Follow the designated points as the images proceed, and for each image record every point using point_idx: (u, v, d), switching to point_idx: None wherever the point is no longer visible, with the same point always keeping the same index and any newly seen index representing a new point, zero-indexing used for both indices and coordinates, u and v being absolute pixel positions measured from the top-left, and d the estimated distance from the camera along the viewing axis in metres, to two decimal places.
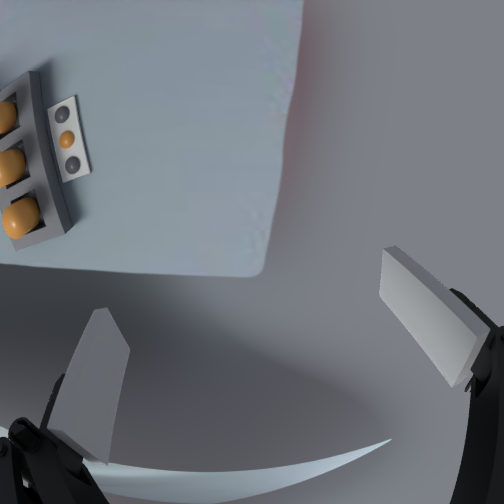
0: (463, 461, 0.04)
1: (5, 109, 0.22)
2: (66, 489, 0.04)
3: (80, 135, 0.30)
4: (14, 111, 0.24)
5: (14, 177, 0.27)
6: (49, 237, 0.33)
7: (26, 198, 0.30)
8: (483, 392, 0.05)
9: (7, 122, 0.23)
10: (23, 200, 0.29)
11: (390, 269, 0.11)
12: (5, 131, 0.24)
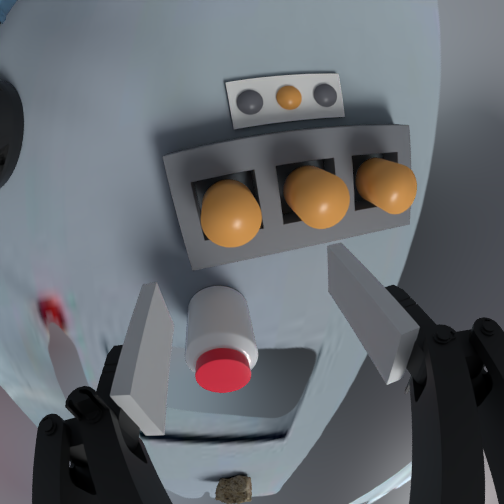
0: (413, 467, 0.05)
1: (222, 187, 0.23)
2: (124, 467, 0.05)
3: (287, 76, 0.24)
4: (225, 180, 0.25)
5: None
6: (409, 152, 0.26)
7: (361, 172, 0.26)
8: (422, 397, 0.06)
9: (244, 187, 0.24)
10: (365, 174, 0.25)
11: (333, 265, 0.13)
12: None
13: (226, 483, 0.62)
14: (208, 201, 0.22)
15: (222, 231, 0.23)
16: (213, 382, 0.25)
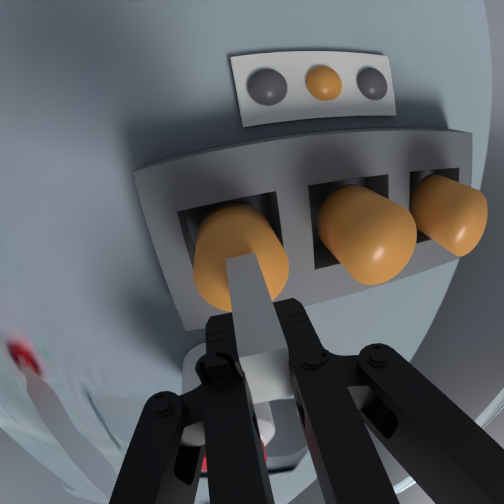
0: (323, 494, 0.05)
1: (226, 220, 0.15)
2: (250, 443, 0.05)
3: (321, 52, 0.15)
4: (231, 206, 0.17)
5: None
6: (470, 168, 0.17)
7: (420, 195, 0.17)
8: (306, 426, 0.07)
9: (260, 219, 0.16)
10: (427, 199, 0.17)
11: None
12: None
13: None
14: (204, 247, 0.13)
15: (228, 291, 0.15)
16: None
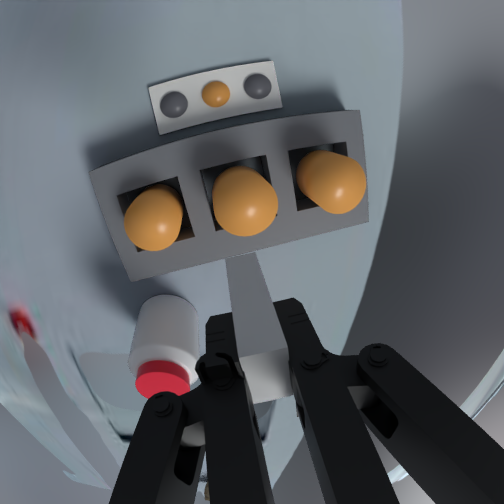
0: (323, 494, 0.05)
1: (143, 193, 0.23)
2: (250, 443, 0.05)
3: (213, 71, 0.22)
4: (152, 186, 0.25)
5: None
6: (361, 141, 0.24)
7: (300, 167, 0.24)
8: (306, 426, 0.07)
9: (166, 192, 0.24)
10: (303, 170, 0.23)
11: None
12: (180, 202, 0.25)
13: None
14: (128, 209, 0.21)
15: (145, 236, 0.23)
16: (154, 393, 0.24)
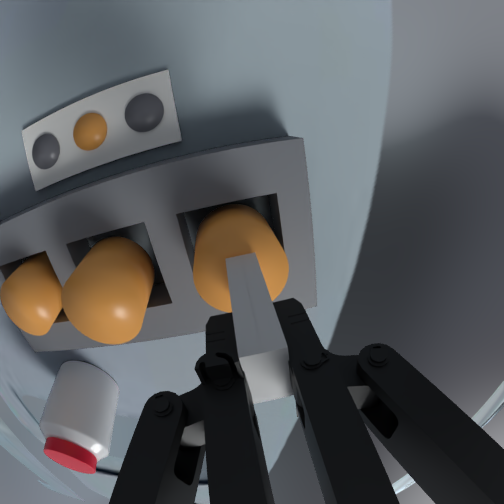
0: (323, 494, 0.05)
1: (16, 270, 0.15)
2: (250, 443, 0.05)
3: (87, 98, 0.14)
4: (33, 255, 0.17)
5: (130, 265, 0.14)
6: (305, 190, 0.16)
7: (197, 235, 0.17)
8: (306, 426, 0.07)
9: (40, 267, 0.16)
10: (196, 242, 0.16)
11: None
12: None
13: None
14: (1, 289, 0.13)
15: (22, 320, 0.15)
16: (64, 463, 0.15)
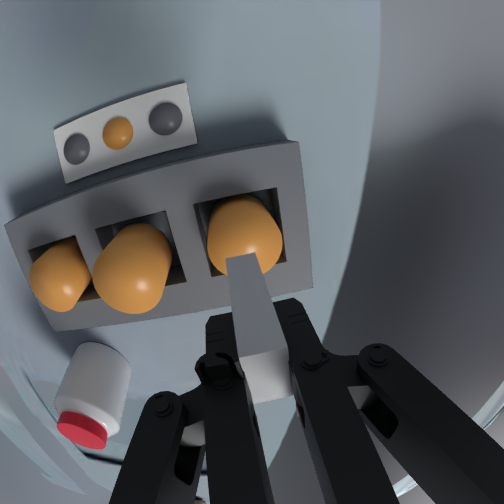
0: (323, 494, 0.05)
1: (46, 252, 0.18)
2: (250, 443, 0.05)
3: (115, 104, 0.17)
4: (61, 240, 0.20)
5: (153, 245, 0.18)
6: (300, 185, 0.19)
7: (209, 218, 0.21)
8: (306, 426, 0.07)
9: (68, 250, 0.19)
10: (209, 222, 0.20)
11: None
12: None
13: None
14: (31, 269, 0.17)
15: (49, 297, 0.18)
16: (75, 438, 0.19)
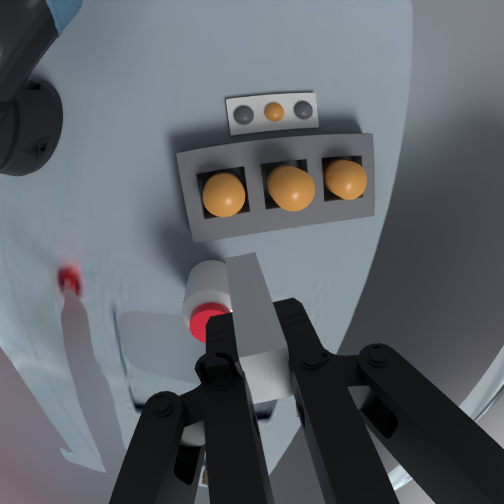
0: (323, 493, 0.05)
1: (218, 174, 0.33)
2: (250, 443, 0.05)
3: (273, 95, 0.32)
4: (222, 171, 0.35)
5: None
6: (372, 156, 0.34)
7: (324, 168, 0.36)
8: (306, 426, 0.07)
9: (234, 176, 0.34)
10: (326, 170, 0.35)
11: None
12: None
13: None
14: (208, 183, 0.31)
15: (217, 205, 0.33)
16: (203, 332, 0.33)
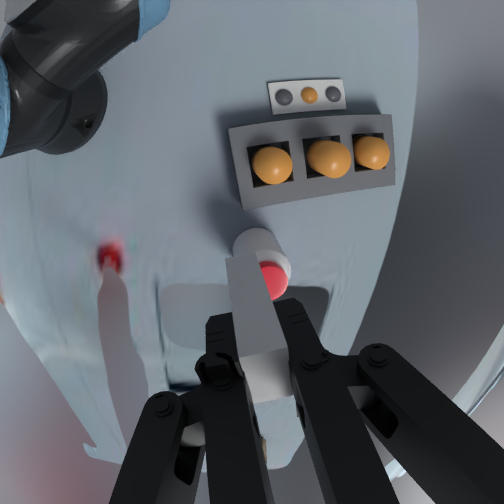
0: (323, 494, 0.05)
1: (267, 147, 0.36)
2: (250, 443, 0.05)
3: (308, 80, 0.35)
4: (267, 146, 0.38)
5: None
6: (391, 133, 0.38)
7: None
8: (306, 426, 0.07)
9: None
10: (355, 145, 0.38)
11: None
12: None
13: None
14: (261, 154, 0.35)
15: (268, 173, 0.36)
16: None
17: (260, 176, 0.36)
